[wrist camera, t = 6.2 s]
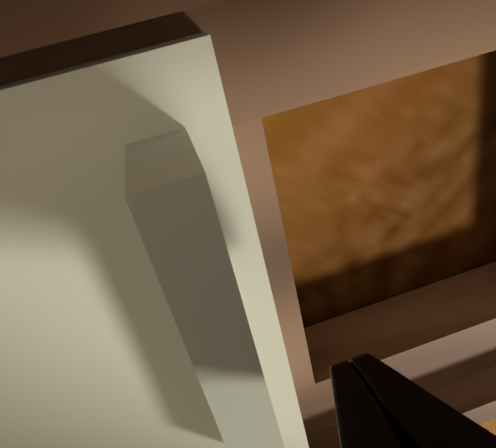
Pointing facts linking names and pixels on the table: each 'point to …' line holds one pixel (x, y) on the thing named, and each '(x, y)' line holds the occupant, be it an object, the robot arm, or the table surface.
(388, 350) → the sliding lid box
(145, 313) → the cover
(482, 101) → the table surface
